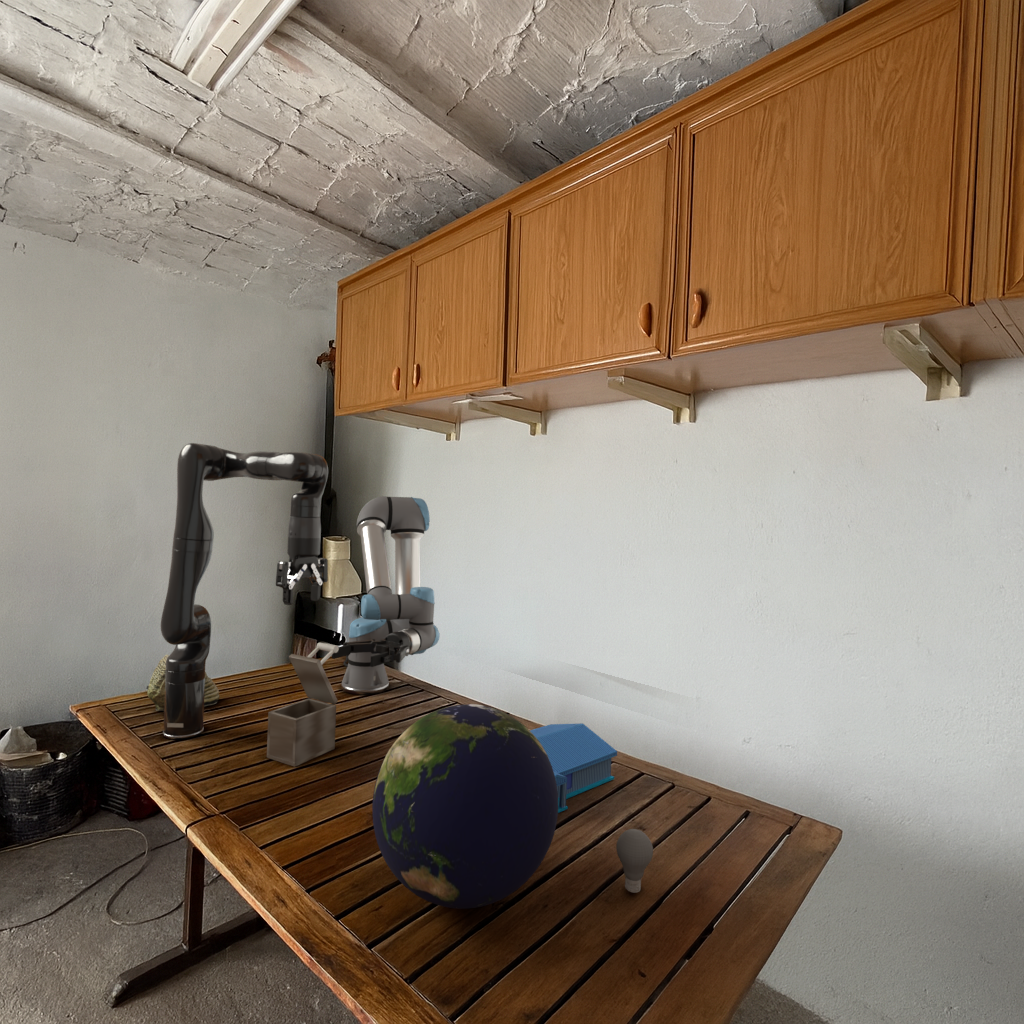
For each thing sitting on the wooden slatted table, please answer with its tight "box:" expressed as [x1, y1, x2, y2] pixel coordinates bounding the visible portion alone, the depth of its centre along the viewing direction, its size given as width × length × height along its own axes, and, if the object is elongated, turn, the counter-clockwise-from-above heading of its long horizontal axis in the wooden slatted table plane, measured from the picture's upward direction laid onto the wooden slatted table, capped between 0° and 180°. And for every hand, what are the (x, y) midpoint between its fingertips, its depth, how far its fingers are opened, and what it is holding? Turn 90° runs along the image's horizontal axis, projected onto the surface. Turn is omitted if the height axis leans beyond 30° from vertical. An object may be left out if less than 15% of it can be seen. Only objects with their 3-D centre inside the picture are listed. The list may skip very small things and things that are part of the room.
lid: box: [288, 641, 340, 705], centre depth 161 cm, size 14×10×9 cm
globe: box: [371, 703, 559, 910], centre depth 103 cm, size 30×30×30 cm
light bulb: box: [615, 828, 654, 894], centre depth 106 cm, size 6×6×10 cm
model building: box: [529, 722, 618, 814], centre depth 142 cm, size 39×24×10 cm, turn 132°
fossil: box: [147, 654, 221, 712], centre depth 185 cm, size 9×18×15 cm, turn 132°
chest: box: [266, 698, 337, 768], centre depth 156 cm, size 13×10×11 cm
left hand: (301, 602), depth 153 cm, fingers open, 8 cm apart
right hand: (351, 657), depth 170 cm, fingers open, 13 cm apart
